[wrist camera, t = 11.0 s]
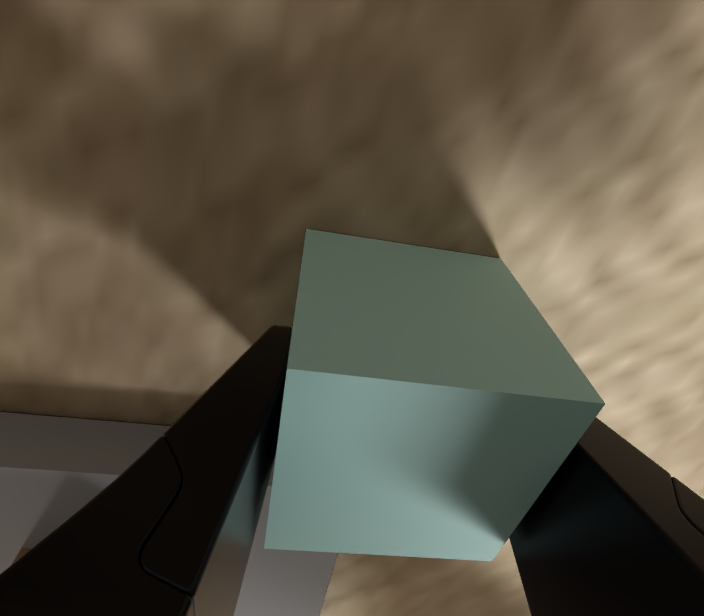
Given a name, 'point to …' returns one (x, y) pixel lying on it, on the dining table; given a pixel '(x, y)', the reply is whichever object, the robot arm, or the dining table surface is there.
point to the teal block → (417, 403)
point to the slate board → (102, 469)
